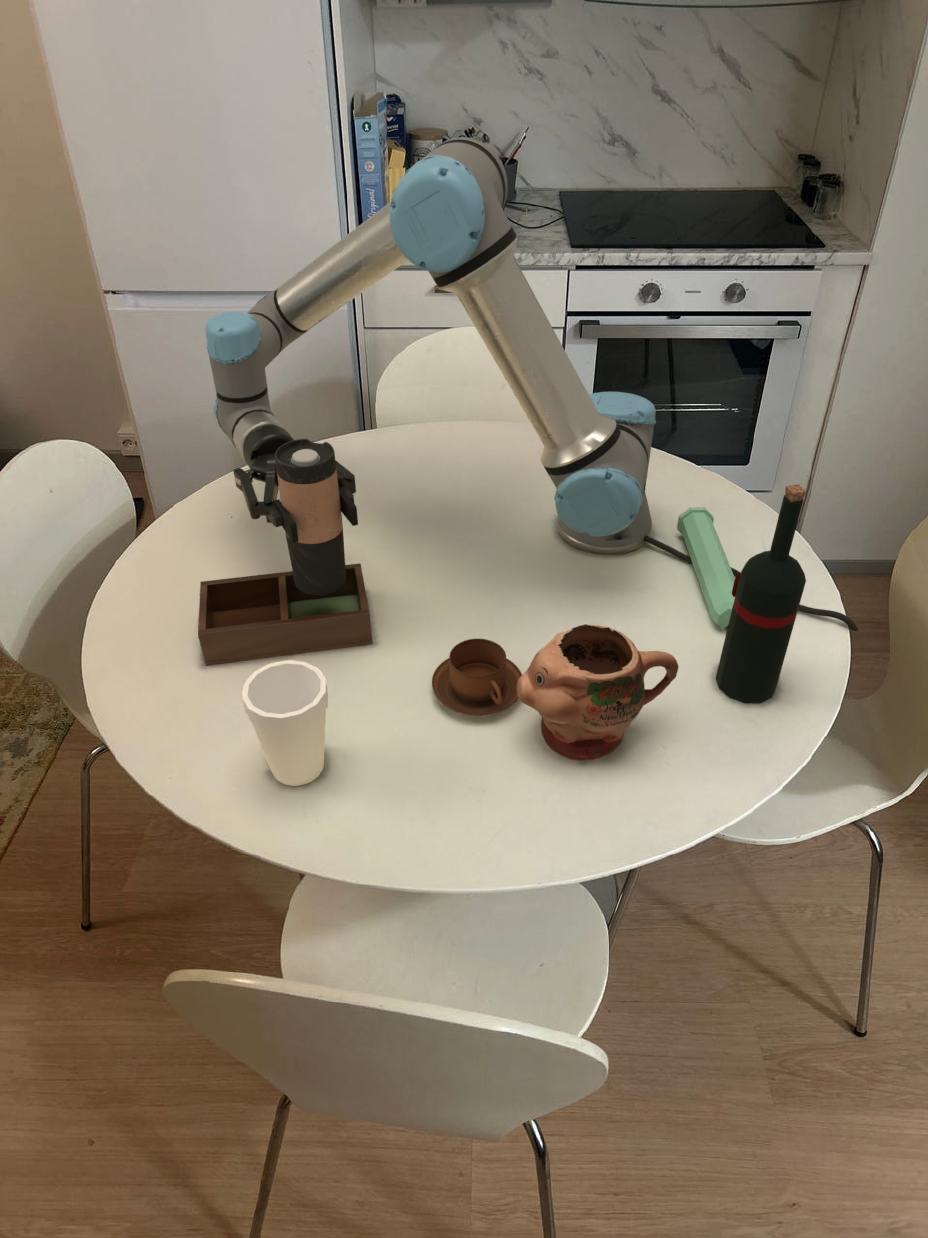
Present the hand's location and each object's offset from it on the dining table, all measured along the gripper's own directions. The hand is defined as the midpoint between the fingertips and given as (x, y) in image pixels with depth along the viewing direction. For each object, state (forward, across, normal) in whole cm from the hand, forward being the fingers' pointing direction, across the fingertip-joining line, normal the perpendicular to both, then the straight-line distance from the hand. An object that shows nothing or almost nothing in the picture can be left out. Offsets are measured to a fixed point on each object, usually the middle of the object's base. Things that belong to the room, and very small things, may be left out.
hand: (325, 524), depth 117 cm
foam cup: (+19, +13, -20) cm, 31 cm away
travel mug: (-5, 0, -12) cm, 13 cm away
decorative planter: (+31, -22, -20) cm, 43 cm away
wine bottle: (+33, -45, -20) cm, 59 cm away
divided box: (-6, +5, -20) cm, 21 cm away
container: (+14, -55, -20) cm, 60 cm away
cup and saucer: (+18, -12, -20) cm, 30 cm away
